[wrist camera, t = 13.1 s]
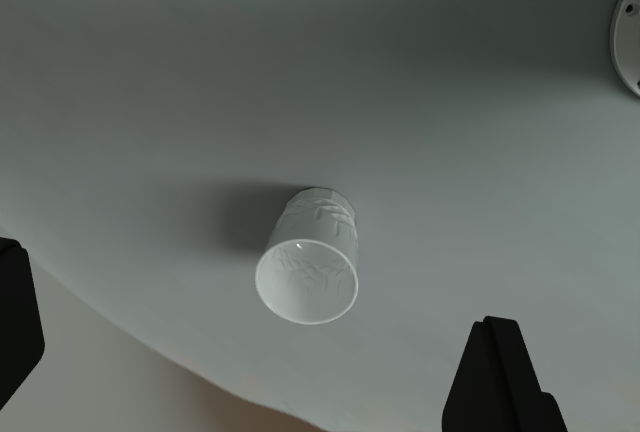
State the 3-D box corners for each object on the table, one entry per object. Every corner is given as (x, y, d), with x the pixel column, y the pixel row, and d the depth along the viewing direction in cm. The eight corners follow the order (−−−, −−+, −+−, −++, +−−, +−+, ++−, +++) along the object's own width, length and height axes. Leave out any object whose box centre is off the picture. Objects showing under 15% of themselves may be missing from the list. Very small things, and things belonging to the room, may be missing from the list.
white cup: (318, 269, 50) (305, 340, 42) (259, 216, 48) (233, 278, 40) (380, 223, 47) (380, 289, 39) (320, 163, 45) (305, 219, 36)
